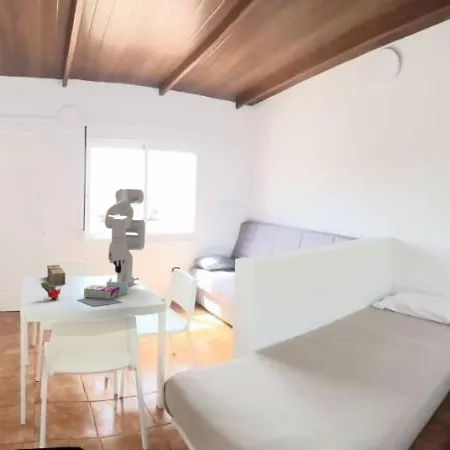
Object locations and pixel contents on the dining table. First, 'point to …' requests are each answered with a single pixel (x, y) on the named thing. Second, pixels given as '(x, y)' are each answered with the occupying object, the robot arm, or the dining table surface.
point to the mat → (98, 301)
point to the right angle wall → (121, 285)
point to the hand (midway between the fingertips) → (118, 272)
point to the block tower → (56, 274)
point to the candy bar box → (101, 291)
